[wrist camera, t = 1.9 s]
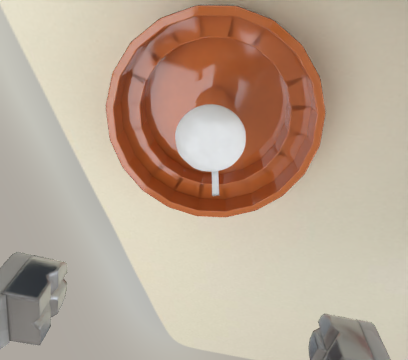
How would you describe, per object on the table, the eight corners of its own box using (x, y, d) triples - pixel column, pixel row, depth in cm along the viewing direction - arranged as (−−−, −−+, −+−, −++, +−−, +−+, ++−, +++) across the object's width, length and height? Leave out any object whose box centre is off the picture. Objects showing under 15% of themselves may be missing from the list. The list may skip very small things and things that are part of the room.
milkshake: (193, 142, 31) (180, 199, 22) (184, 82, 28) (164, 118, 20) (244, 137, 30) (251, 192, 21) (238, 75, 28) (244, 109, 19)
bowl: (194, -46, 25) (188, -55, 21) (352, 92, 28) (373, 107, 24) (90, 125, 31) (70, 144, 27) (230, 219, 35) (230, 247, 31)
